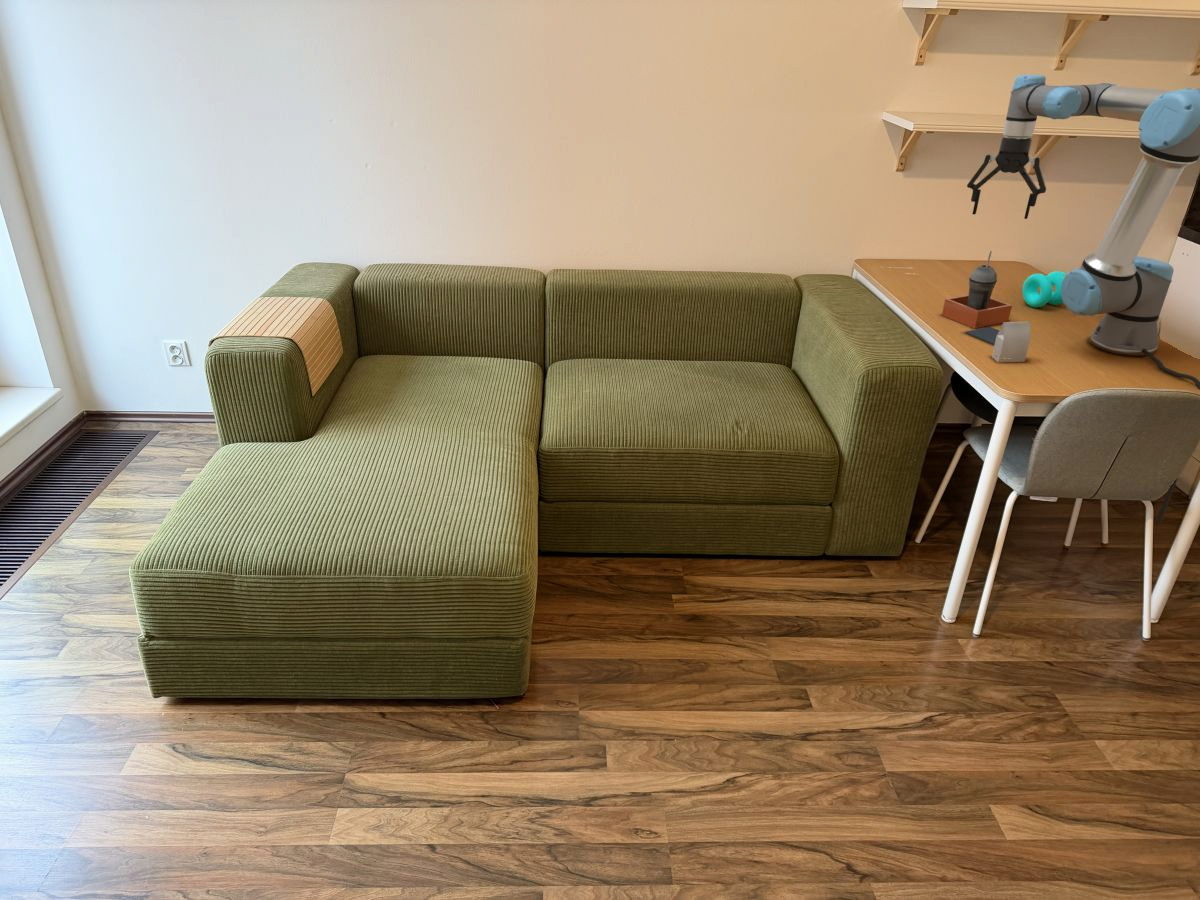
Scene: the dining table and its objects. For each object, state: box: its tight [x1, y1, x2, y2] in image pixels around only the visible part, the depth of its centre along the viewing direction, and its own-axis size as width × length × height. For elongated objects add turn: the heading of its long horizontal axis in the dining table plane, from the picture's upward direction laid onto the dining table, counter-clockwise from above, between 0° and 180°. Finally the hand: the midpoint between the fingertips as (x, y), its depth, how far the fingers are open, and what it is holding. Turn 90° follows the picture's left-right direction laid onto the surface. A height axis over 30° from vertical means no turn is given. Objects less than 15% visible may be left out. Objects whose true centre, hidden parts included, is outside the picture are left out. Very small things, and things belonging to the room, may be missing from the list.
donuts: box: [1021, 270, 1067, 308], centre depth 239 cm, size 10×10×10 cm
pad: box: [965, 326, 1000, 346], centre depth 219 cm, size 10×9×1 cm
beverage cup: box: [967, 250, 998, 310], centre depth 228 cm, size 7×7×20 cm
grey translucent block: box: [991, 321, 1032, 363], centre depth 203 cm, size 4×7×10 cm, turn 91°
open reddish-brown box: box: [941, 294, 1013, 329], centre depth 231 cm, size 13×13×5 cm
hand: (999, 215), depth 229 cm, fingers open, 13 cm apart
